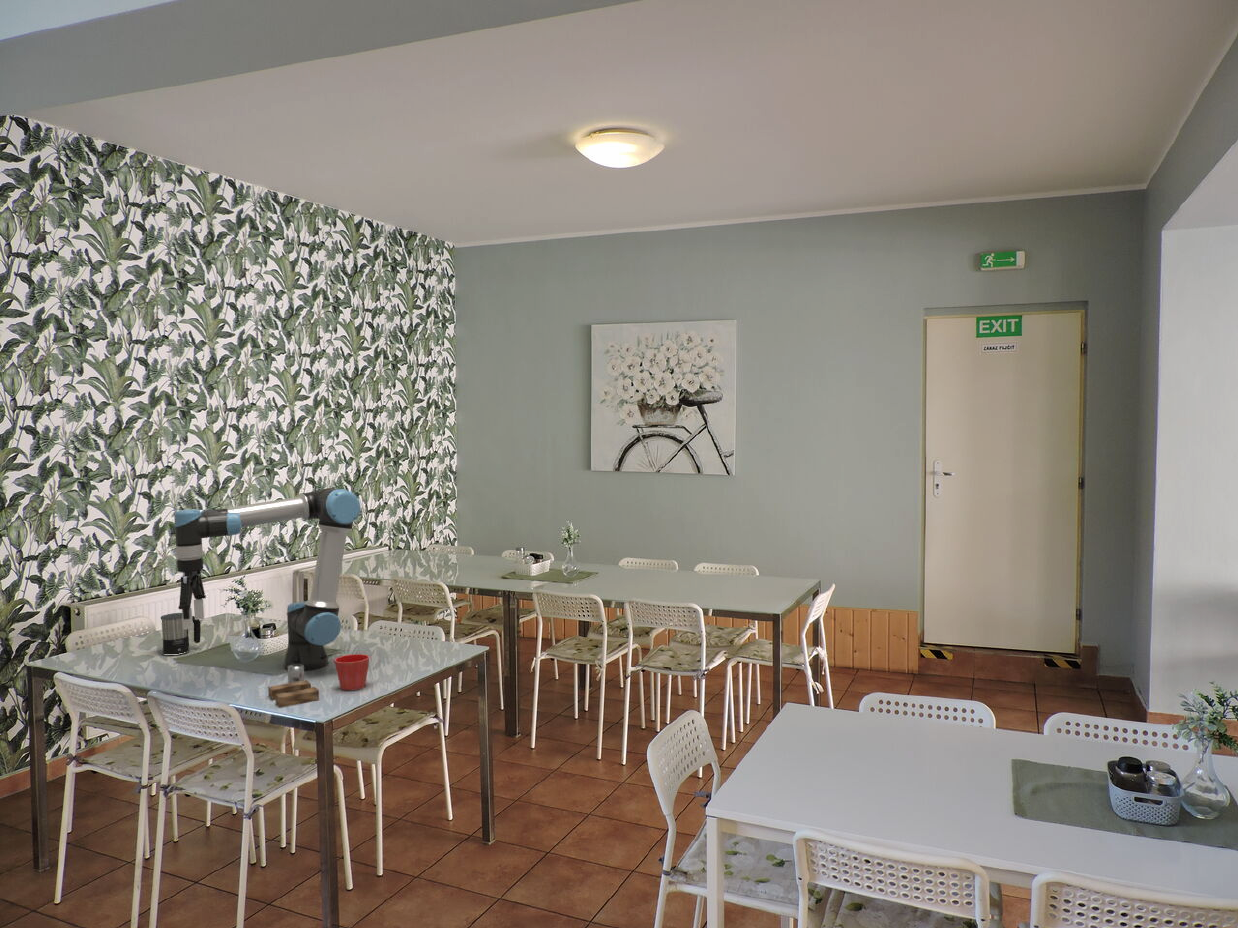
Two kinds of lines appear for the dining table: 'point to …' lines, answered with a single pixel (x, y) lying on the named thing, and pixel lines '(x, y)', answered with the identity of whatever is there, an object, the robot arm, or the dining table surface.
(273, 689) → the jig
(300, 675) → the bushing
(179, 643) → the milk frother
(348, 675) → the flower pot
